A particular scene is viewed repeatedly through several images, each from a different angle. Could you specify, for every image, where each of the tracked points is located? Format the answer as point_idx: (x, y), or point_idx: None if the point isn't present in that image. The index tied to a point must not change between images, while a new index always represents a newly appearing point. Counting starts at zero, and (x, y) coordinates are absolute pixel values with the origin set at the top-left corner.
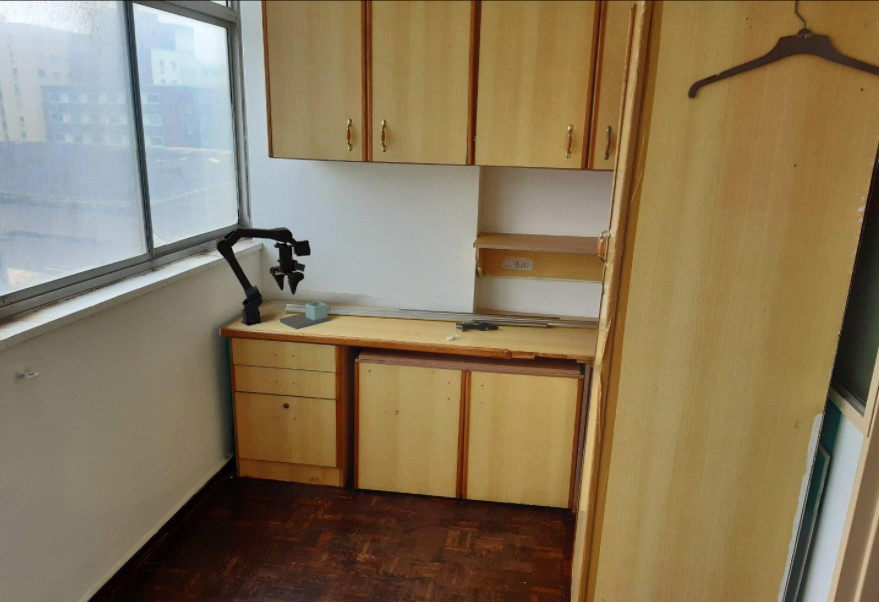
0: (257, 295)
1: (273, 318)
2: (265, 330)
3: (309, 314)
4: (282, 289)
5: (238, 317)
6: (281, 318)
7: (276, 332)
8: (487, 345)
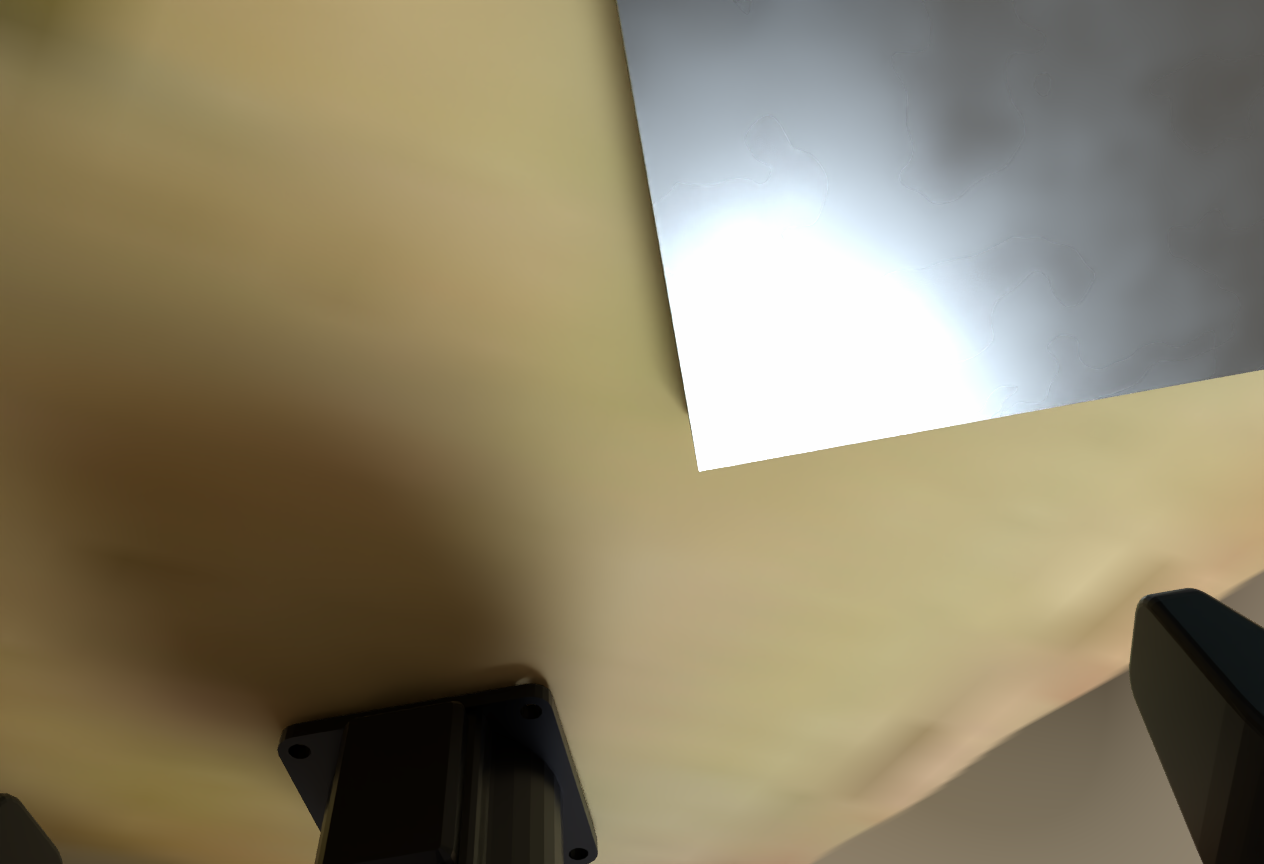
0: None
1: (349, 446)
2: (948, 712)
3: None
4: (22, 850)
5: None
6: (709, 439)
7: None
8: None
